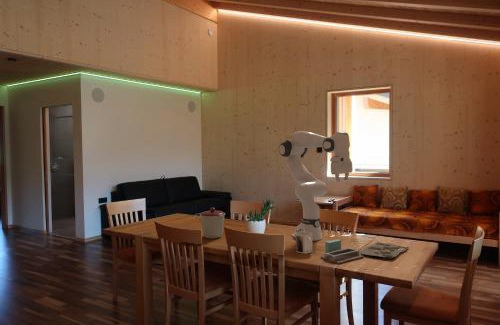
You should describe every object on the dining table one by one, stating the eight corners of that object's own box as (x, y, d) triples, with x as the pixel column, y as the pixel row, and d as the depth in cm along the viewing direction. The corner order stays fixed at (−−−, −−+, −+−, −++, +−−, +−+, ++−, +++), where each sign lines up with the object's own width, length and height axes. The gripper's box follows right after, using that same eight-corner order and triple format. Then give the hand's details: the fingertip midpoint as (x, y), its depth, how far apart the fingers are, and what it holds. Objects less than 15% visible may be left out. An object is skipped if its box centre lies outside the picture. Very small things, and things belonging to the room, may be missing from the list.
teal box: (325, 253, 234) (325, 241, 233) (337, 250, 239) (337, 239, 239) (328, 254, 231) (328, 242, 231) (341, 251, 237) (341, 240, 236)
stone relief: (409, 249, 240) (377, 243, 253) (409, 245, 240) (377, 239, 253) (391, 263, 215) (356, 256, 228) (391, 258, 215) (356, 251, 228)
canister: (200, 240, 268) (199, 210, 266) (199, 234, 285) (199, 205, 284) (226, 239, 270) (226, 209, 269) (224, 233, 288) (224, 204, 287)
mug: (314, 249, 242) (314, 231, 241) (312, 255, 230) (312, 236, 230) (297, 248, 245) (297, 231, 244) (294, 254, 233) (294, 235, 232)
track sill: (320, 258, 224) (320, 252, 224) (345, 252, 235) (345, 246, 235) (338, 264, 212) (338, 257, 212) (363, 257, 223) (363, 251, 223)
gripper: (345, 157, 248) (345, 179, 249) (328, 158, 233) (328, 182, 234) (355, 157, 244) (355, 179, 245) (338, 159, 229) (338, 182, 230)
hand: (342, 180), depth 239 cm, fingers open, 8 cm apart
